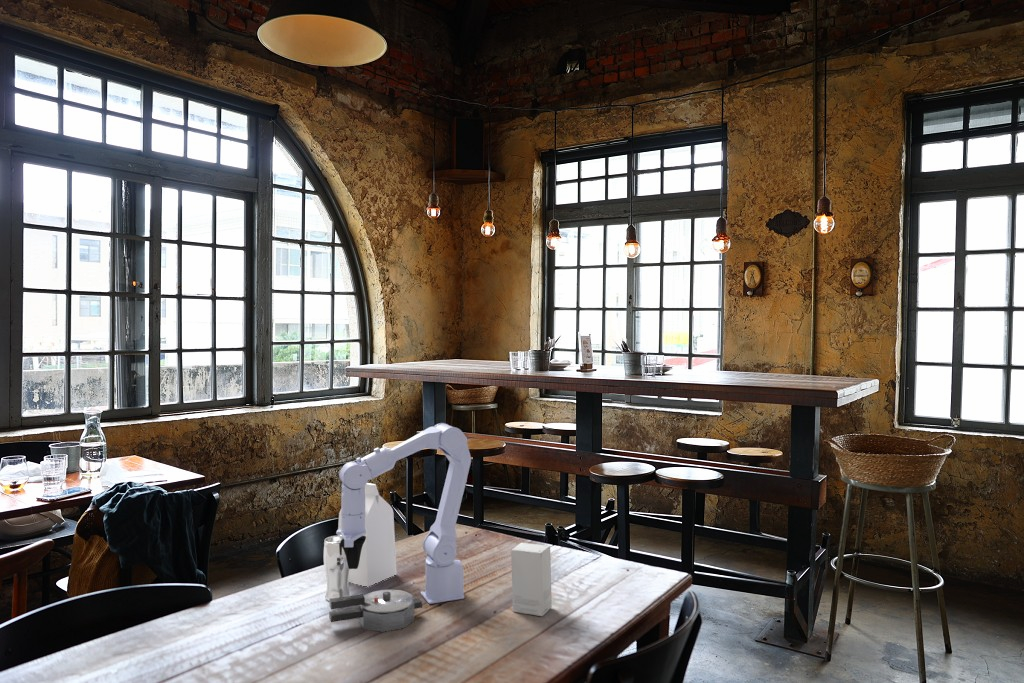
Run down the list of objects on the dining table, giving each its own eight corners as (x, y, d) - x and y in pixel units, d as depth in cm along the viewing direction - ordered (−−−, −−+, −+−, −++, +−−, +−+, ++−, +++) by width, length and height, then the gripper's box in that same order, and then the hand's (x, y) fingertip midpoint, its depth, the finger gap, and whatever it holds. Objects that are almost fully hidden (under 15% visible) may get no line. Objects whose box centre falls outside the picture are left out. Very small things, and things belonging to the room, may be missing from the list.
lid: (405, 589, 175) (405, 580, 175) (419, 608, 164) (419, 597, 164) (326, 601, 168) (326, 591, 168) (334, 621, 156) (334, 610, 156)
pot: (413, 605, 176) (413, 589, 176) (427, 624, 165) (427, 607, 165) (325, 619, 167) (325, 602, 167) (334, 640, 157) (334, 622, 156)
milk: (396, 575, 198) (396, 482, 198) (367, 587, 188) (367, 490, 188) (365, 567, 205) (365, 477, 204) (335, 578, 195) (335, 484, 194)
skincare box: (552, 608, 175) (552, 545, 175) (542, 618, 169) (542, 553, 169) (521, 602, 179) (521, 541, 178) (510, 612, 173) (510, 548, 172)
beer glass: (344, 603, 177) (344, 544, 177) (318, 601, 179) (318, 542, 178) (356, 593, 184) (356, 535, 184) (331, 591, 186) (331, 534, 185)
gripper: (341, 505, 180) (341, 558, 180) (331, 520, 165) (331, 578, 165) (370, 504, 180) (369, 558, 180) (361, 520, 166) (361, 578, 166)
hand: (353, 568), depth 173 cm, fingers closed
